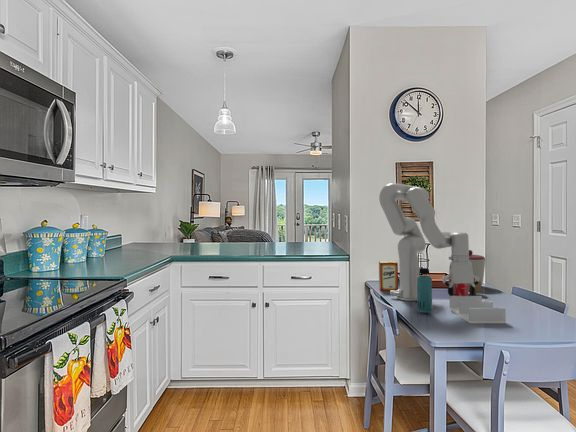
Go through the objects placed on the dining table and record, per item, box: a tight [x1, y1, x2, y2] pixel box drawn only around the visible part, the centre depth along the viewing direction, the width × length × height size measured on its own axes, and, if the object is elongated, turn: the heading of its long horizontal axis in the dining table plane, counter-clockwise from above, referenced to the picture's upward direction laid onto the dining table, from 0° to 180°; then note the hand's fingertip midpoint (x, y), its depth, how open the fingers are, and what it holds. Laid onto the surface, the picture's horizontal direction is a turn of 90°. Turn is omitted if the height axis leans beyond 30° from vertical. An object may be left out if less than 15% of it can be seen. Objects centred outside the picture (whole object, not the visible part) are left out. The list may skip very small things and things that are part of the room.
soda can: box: [452, 284, 469, 296], centre depth 194 cm, size 7×7×12 cm
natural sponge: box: [468, 278, 482, 296], centre depth 218 cm, size 9×9×10 cm
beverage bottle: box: [416, 267, 433, 313], centre depth 180 cm, size 6×7×20 cm
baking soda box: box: [378, 260, 399, 292], centre depth 234 cm, size 10×6×16 cm
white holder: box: [448, 295, 507, 324], centre depth 176 cm, size 14×23×6 cm, turn 178°
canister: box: [469, 249, 487, 286], centre depth 240 cm, size 18×18×21 cm
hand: (461, 295), depth 193 cm, fingers open, 9 cm apart
